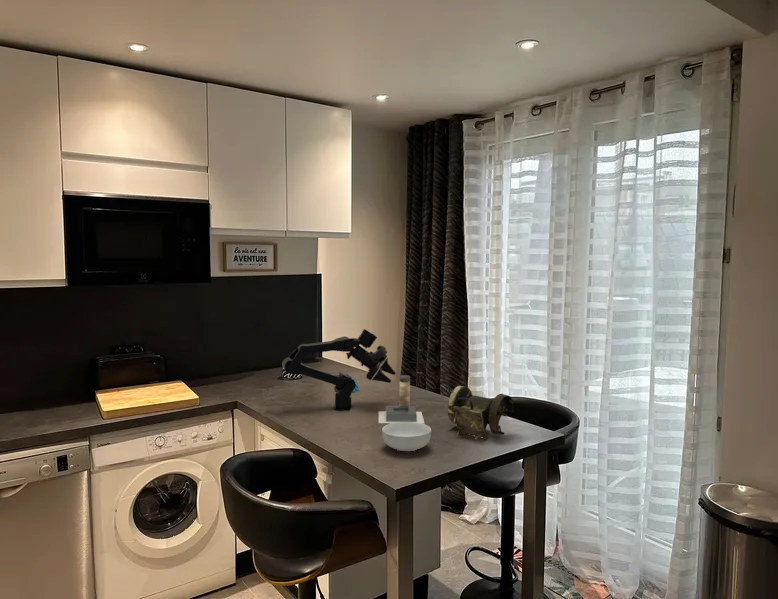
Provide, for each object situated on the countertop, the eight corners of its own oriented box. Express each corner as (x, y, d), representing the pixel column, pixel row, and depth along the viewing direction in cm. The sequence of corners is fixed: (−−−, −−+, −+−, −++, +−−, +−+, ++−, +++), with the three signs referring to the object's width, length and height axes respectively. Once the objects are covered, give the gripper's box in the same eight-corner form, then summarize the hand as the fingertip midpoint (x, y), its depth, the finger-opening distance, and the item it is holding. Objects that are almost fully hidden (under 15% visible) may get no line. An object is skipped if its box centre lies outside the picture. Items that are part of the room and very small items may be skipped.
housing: (386, 421, 218) (386, 414, 218) (385, 412, 230) (385, 405, 230) (416, 421, 219) (416, 414, 218) (414, 412, 231) (414, 405, 230)
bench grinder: (469, 411, 224) (457, 371, 216) (520, 420, 210) (508, 377, 202) (445, 444, 211) (431, 403, 203) (497, 456, 197) (484, 412, 189)
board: (378, 424, 216) (378, 422, 216) (378, 412, 232) (378, 411, 232) (424, 424, 217) (424, 423, 217) (421, 413, 233) (421, 411, 233)
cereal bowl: (415, 437, 202) (415, 418, 201) (440, 452, 187) (440, 432, 187) (373, 444, 194) (373, 424, 193) (396, 460, 179) (396, 439, 179)
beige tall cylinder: (399, 412, 233) (399, 377, 232) (399, 409, 238) (399, 375, 236) (409, 412, 233) (410, 377, 232) (409, 409, 238) (409, 375, 236)
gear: (348, 391, 261) (339, 373, 265) (341, 398, 263) (332, 381, 268) (364, 390, 269) (355, 373, 274) (357, 397, 272) (348, 380, 276)
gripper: (367, 349, 227) (398, 371, 226) (378, 336, 244) (407, 356, 244) (353, 369, 230) (384, 391, 229) (365, 355, 248) (393, 375, 247)
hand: (393, 377), depth 237 cm, fingers open, 9 cm apart
